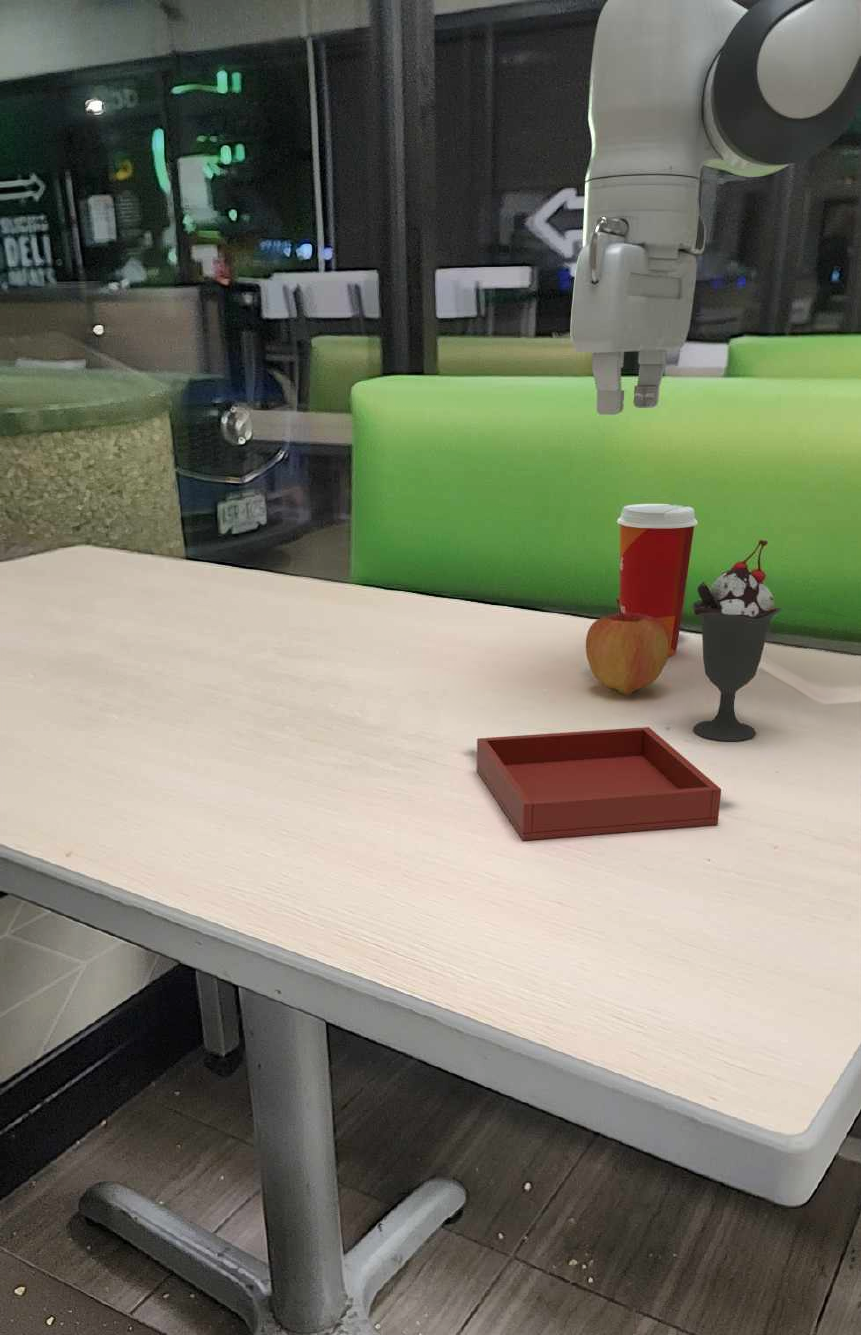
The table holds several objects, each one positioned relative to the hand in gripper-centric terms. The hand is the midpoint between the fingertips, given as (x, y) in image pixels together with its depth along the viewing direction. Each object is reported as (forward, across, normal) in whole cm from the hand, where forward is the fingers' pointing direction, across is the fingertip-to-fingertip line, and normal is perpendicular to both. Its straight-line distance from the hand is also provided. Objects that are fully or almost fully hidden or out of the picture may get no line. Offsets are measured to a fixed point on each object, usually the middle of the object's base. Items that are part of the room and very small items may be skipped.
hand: (628, 411), depth 97 cm
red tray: (+24, -28, -8) cm, 37 cm away
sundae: (+24, -10, -13) cm, 29 cm away
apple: (+24, -2, -2) cm, 24 cm away
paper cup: (+24, +12, 0) cm, 27 cm away
